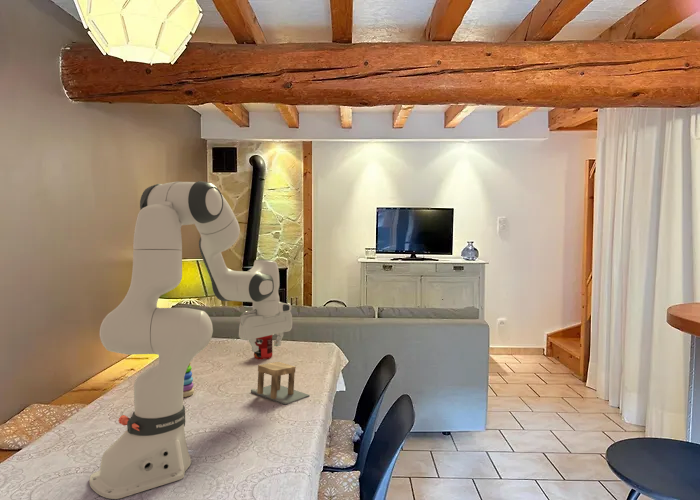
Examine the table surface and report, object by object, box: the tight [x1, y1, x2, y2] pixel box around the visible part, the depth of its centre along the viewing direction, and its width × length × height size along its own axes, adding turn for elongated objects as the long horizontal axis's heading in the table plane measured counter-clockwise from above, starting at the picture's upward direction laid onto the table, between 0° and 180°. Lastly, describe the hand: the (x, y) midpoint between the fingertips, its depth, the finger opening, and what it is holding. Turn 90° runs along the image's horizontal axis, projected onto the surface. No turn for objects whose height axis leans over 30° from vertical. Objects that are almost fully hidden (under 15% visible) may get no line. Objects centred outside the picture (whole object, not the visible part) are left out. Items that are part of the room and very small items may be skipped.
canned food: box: [253, 335, 273, 360], centre depth 218 cm, size 8×8×11 cm
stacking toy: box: [183, 361, 195, 398], centre depth 172 cm, size 8×8×19 cm
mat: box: [250, 384, 311, 406], centre depth 173 cm, size 11×18×1 cm, turn 48°
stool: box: [256, 361, 297, 399], centre depth 171 cm, size 10×9×9 cm
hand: (266, 348), depth 167 cm, fingers open, 8 cm apart
